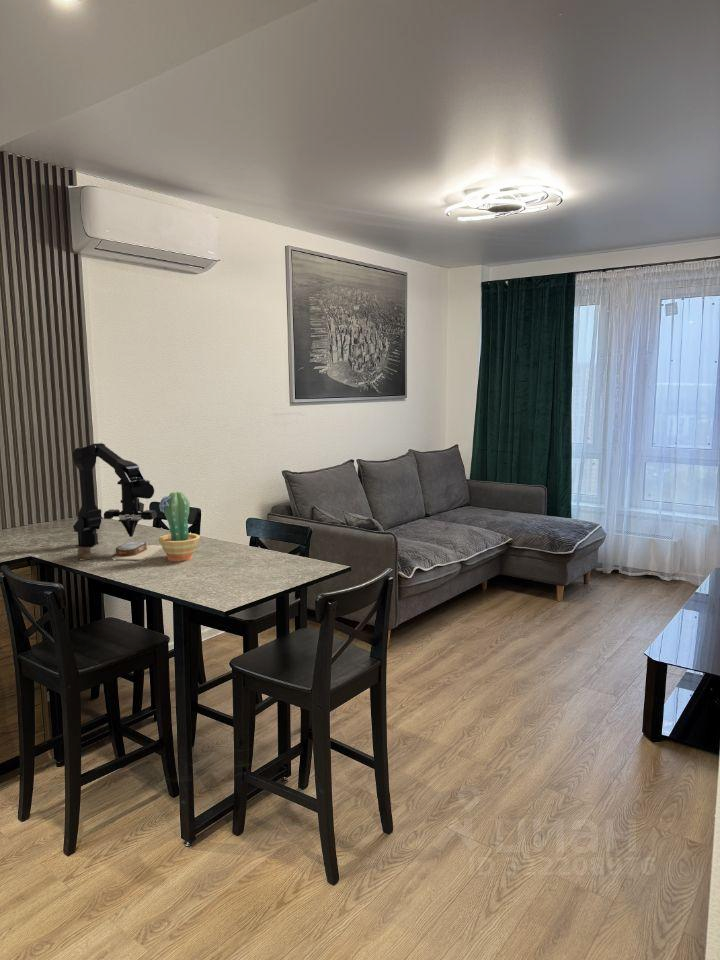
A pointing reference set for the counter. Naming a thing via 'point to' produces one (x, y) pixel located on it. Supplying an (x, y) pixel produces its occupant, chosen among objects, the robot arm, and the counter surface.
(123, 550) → the tin
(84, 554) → the walnut block
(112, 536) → the counter surface
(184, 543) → the potted cactus
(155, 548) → the mat
